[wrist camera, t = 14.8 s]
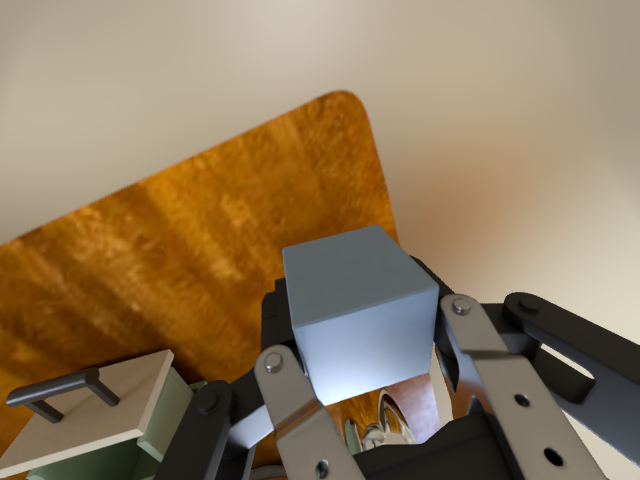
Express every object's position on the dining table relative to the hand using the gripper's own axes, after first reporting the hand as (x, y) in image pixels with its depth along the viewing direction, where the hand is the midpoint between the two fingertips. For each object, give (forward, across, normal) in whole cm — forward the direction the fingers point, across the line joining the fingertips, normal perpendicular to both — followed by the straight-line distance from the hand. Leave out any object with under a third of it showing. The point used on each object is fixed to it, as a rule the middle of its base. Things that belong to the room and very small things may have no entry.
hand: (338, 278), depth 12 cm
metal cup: (+13, -2, +23) cm, 27 cm away
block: (0, 0, 0) cm, 0 cm away
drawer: (+12, +24, +19) cm, 32 cm away
